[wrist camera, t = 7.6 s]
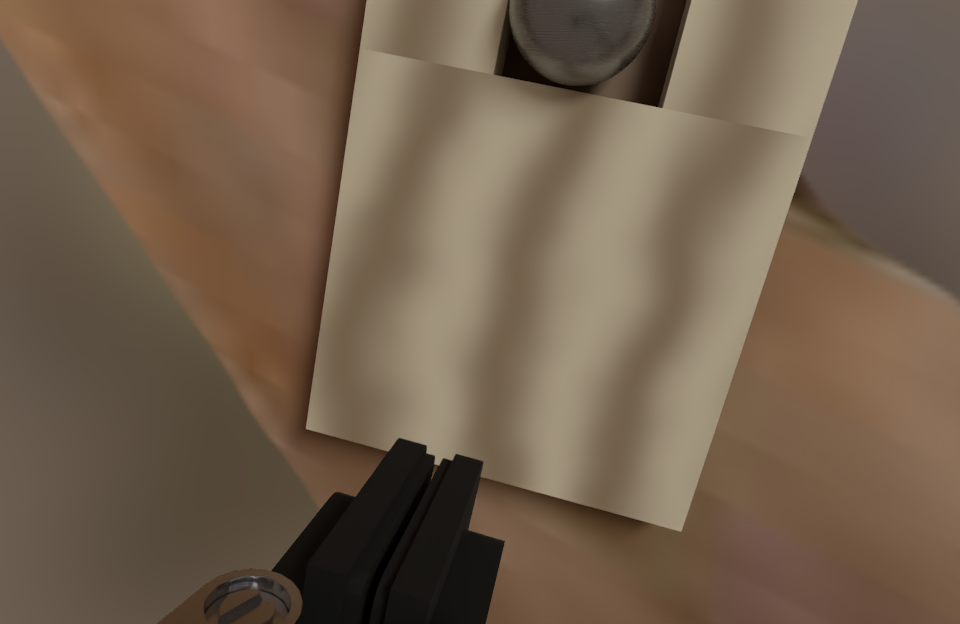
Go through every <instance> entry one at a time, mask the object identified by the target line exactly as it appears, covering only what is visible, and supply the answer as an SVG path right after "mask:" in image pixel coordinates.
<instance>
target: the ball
mask: <svg viewBox="0 0 960 624" xmlns="http://www.w3.org/2000/svg"><path fill="white" fill-rule="evenodd" d="M655 11H656V0H510V7H509V16H510V25H511V31H512V34H513V38H514V41H515V43H516V45H517V48H518V50H519V51H520V53H521V55H522V56H523V58H524V59H525V60H526V62H527V63H528V64H529V65H530V66H531V67H532V68H533V69H534V70H535V71H536V72H538V73H539V74H540V75H542V76H543V77H545V78H547V79H549V80H551V81H553V82H556V83H559V84H563V85H567V86H588V85H593V84H597V83H600V82H603V81H605V80H607V79H609V78H611V77H613V76H615V75H616V74H618V73H619V72H621V71H622V70H623V69H624V68H626V67H627V66H628V65H629V64H630V63H631V62H632V61H633V60H634V59H635V58H636V56H637V55H638V54H639V52H640V51H641V49H642V48H643V46H644V44H645V42H646V41H647V39H648V36H649V34H650V31H651V29H652V25H653V22H654V17H655Z"/></svg>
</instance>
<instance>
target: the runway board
mask: <svg viewBox="0 0 960 624" xmlns="http://www.w3.org/2000/svg"><path fill="white" fill-rule="evenodd" d="M857 2H858V0H686V4H685V7H684V11H683V15H682V19H681V22H680V26H679V30H678V34H677V38H676V41H675V45H674V49H673V53H672V56H671V60H670V64H669V68H668V71H667V75H666V79H665V83H664V86H663V90H662V94H661V98H660V101H659V105H658V107H653V106H648V105H643V104H638V103H633V102H628V101H623V100H618V99H613V98H608V97H603V96H598V95H593V94H588V93H583V92H578V91H573V90H568V89H563V88H558V87H553V86H548V85H543V84H538V83H532V82H527V81H522V80H517V79H512V78H507V77H502V74H503V69H504V64H505V59H506V54H507V49H508V44H509V39H510V34H511V25H510V16H509V7H510V0H367V2H366V9H365V16H364V23H363V30H362V37H361V44H360V51H359V58H358V65H357V72H356V79H355V86H354V93H353V100H352V107H351V114H350V121H349V128H348V135H347V142H346V149H345V156H344V163H343V170H342V177H341V184H340V192H339V199H338V206H337V213H336V220H335V227H334V234H333V241H332V248H331V255H330V262H329V269H328V276H327V283H326V290H325V297H324V304H323V311H322V318H321V325H320V332H319V339H318V346H317V353H316V360H315V367H314V374H313V381H312V388H311V395H310V402H309V409H308V417H307V424H306V429H308V430H311V431H315V432H319V433H322V434H326V435H330V436H333V437H337V438H341V439H344V440H348V441H352V442H355V443H359V444H363V445H366V446H370V447H374V448H377V449H381V450H385V451H388V452H389V450H390V449H391V447H392V446H393V445H394V443H395V442H396V440H397V439H398V438H402V439H406V440H409V441H413V442H416V443H420V444H424V445H427V452H426V453H427V454H431V455H435V462H434V464H436V465H440V463H441V461H442V459H443V458H445V459H449V460H453V458H454V456H455V454H459V455H463V456H466V457H470V458H473V459H477V460H481V461H484V462H483V468H482V472H481V477H483V478H487V479H491V480H494V481H498V482H502V483H505V484H509V485H512V486H516V487H520V488H523V489H527V490H531V491H534V492H538V493H542V494H545V495H549V496H553V497H556V498H560V499H564V500H567V501H571V502H575V503H578V504H582V505H586V506H589V507H593V508H597V509H600V510H604V511H607V512H611V513H615V514H618V515H622V516H626V517H629V518H633V519H637V520H640V521H644V522H648V523H651V524H655V525H659V526H662V527H666V528H670V529H673V530H677V531H682V528H683V525H684V522H685V519H686V516H687V513H688V510H689V507H690V504H691V501H692V498H693V495H694V492H695V489H696V486H697V483H698V480H699V477H700V474H701V471H702V468H703V465H704V462H705V459H706V456H707V453H708V450H709V447H710V444H711V441H712V438H713V435H714V432H715V429H716V426H717V423H718V420H719V417H720V414H721V411H722V408H723V405H724V402H725V399H726V396H727V393H728V390H729V387H730V384H731V381H732V378H733V375H734V372H735V369H736V366H737V363H738V360H739V357H740V354H741V351H742V348H743V345H744V342H745V339H746V336H747V333H748V330H749V327H750V324H751V320H752V317H753V314H754V311H755V308H756V305H757V302H758V299H759V296H760V293H761V290H762V287H763V284H764V281H765V278H766V275H767V272H768V269H769V266H770V263H771V260H772V257H773V254H774V251H775V248H776V245H777V242H778V239H779V236H780V233H781V230H782V227H783V224H784V221H785V218H786V215H787V212H788V209H789V206H790V203H791V200H792V197H793V194H794V191H795V188H796V185H797V182H798V179H799V176H800V173H801V170H802V167H803V164H804V161H805V158H806V155H807V152H808V149H809V146H810V143H811V140H812V137H813V134H814V131H815V128H816V125H817V122H818V119H819V116H820V113H821V110H822V107H823V104H824V101H825V98H826V95H827V92H828V89H829V85H830V83H831V79H832V77H833V74H834V71H835V67H836V65H837V62H838V59H839V56H840V53H841V50H842V47H843V43H844V41H845V38H846V35H847V32H848V28H849V26H850V23H851V20H852V17H853V13H854V10H855V7H856V5H857Z"/></svg>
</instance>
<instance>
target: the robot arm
mask: <svg viewBox="0 0 960 624" xmlns="http://www.w3.org/2000/svg"><path fill="white" fill-rule="evenodd" d="M426 452H427V445H424V444H420V443H416V442H413V441H409V440H406V439H402V438H398V439H397V440H396V442H395V443H394V445H393V446H392V447H391V449H390V450H389V452H388V453H387V454H386V456H385V457H384V458H383V460H382V461H381V463H380V464H379V465H378V467H377V468H376V470H375V471H374V472H373V474H372V475H371V476H370V478H369V479H368V481H367V482H366V483H365V485H364V486H363V488H362V489H361V490H360V492H359V493H358V494H357V496H356V497H353V496H350V495H347V494H343V493H340V492H335V493H334V494H333V495H332V496H331V497H330V498H329V499H328V501H327V502H326V503H325V504H324V506H323V507H322V508H321V509H320V511H319V512H318V513H317V514H316V516H315V517H314V518H313V519H312V521H311V522H310V523H309V525H308V526H307V527H306V528H305V529H304V531H303V532H302V533H301V534H300V536H299V537H298V538H297V539H296V541H295V542H294V543H293V544H292V546H291V547H290V548H289V549H288V551H287V552H286V553H285V554H284V556H283V557H282V558H281V559H280V561H279V562H278V563H277V564H276V566H275V567H274V568H273V570H272V571H269V570H265V569H252V568H251V569H242V570H235V571H231V572H229V573H226V574H223V575H220V576H218V577H216V578H215V579H213V580H211V581H210V582H208V583H206V584H205V585H204V586H203V587H201V588H200V589H199V590H198V591H196V592H195V593H194V594H193V595H191V596H190V597H189V598H188V599H187V600H185V601H184V602H183V603H182V604H181V605H179V606H178V607H177V608H176V609H174V610H173V611H172V612H171V613H169V614H168V615H167V616H166V617H164V618H163V619H162V620H161V621H159V622H158V623H157V624H485V623H486V619H487V615H488V611H489V606H490V602H491V598H492V594H493V589H494V585H495V581H496V577H497V572H498V568H499V564H500V560H501V555H502V551H503V547H504V542H505V541H502V540H499V539H496V538H492V537H489V536H486V535H482V534H479V533H475V532H472V531H469V530H468V528H469V524H470V519H471V515H472V511H473V507H474V502H475V498H476V494H477V490H478V485H479V481H480V477H481V472H482V468H483V462H484V461H481V460H477V459H473V458H470V457H466V456H463V455H459V454H455V456H454V458H453V460H449V459H445V458H443V459H442V461H441V463H440V465H439V467H438V468H437V470H436V472H435V474H434V476H433V478H432V480H431V477H432V472H433V467H434V462H435V455H431V454H427V453H426Z"/></svg>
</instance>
